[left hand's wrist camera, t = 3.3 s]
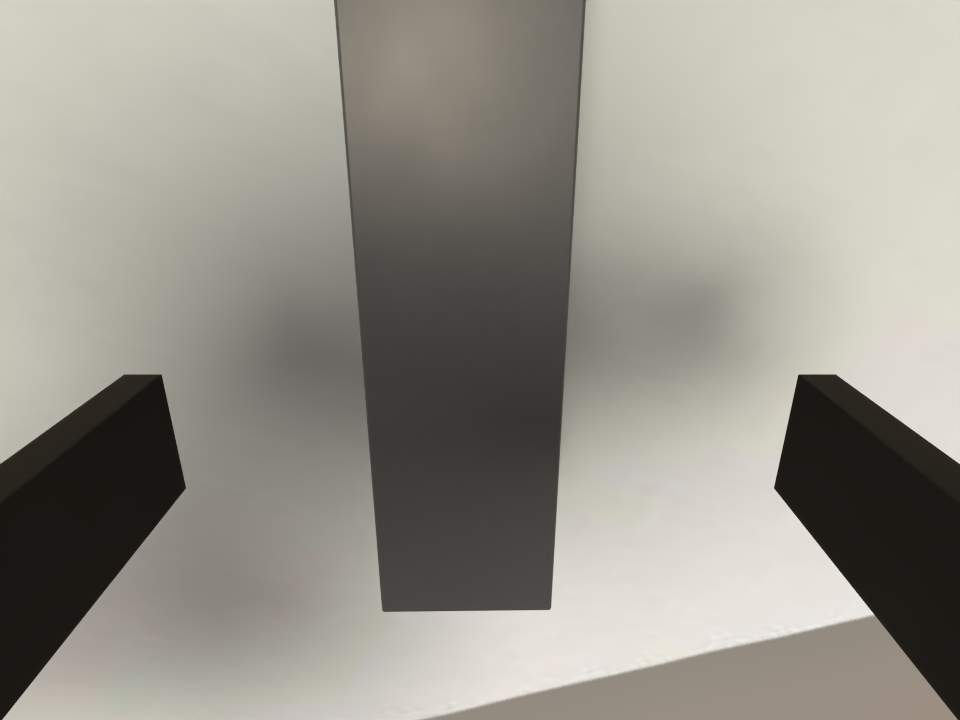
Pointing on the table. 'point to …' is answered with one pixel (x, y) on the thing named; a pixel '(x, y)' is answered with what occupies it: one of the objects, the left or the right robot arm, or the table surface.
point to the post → (462, 285)
